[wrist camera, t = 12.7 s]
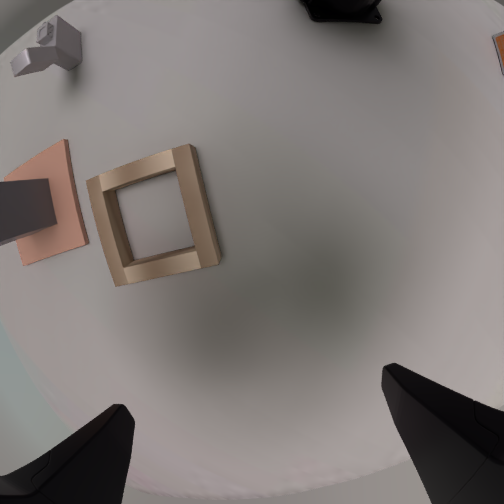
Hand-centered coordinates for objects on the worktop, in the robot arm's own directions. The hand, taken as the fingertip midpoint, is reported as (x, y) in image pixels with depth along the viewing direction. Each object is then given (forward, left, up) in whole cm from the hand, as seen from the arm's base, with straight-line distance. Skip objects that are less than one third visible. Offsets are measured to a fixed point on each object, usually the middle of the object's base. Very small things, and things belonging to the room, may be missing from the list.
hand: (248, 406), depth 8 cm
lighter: (+11, -22, -13) cm, 28 cm away
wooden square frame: (+6, -6, -13) cm, 15 cm away
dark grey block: (+17, -10, -12) cm, 23 cm away
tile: (+17, -10, -13) cm, 23 cm away
